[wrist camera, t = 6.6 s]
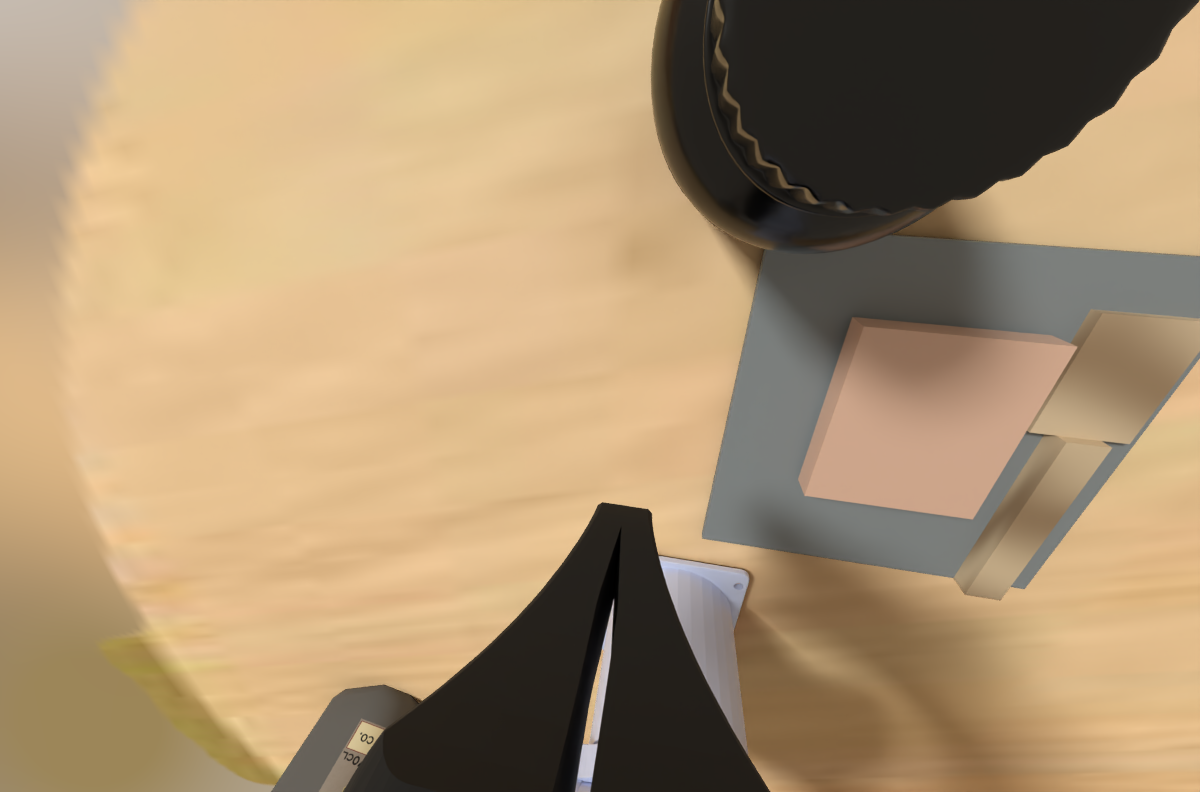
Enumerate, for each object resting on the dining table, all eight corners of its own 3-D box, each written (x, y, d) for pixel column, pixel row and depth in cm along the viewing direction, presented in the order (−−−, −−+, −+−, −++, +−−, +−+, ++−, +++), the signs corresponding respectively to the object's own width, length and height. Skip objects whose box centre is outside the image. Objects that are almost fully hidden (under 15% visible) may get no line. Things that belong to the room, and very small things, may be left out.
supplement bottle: (916, 10, 13) (1876, -650, 3) (817, 240, 16) (1063, 358, 6) (697, -37, 13) (762, -790, 3) (642, 198, 17) (581, 239, 6)
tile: (796, 475, 21) (953, 496, 20) (804, 495, 19) (972, 519, 19) (849, 314, 17) (1045, 332, 16) (863, 326, 16) (1077, 346, 15)
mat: (1019, 582, 22) (1024, 589, 22) (701, 533, 24) (702, 538, 24) (1258, 260, 14) (1272, 262, 14) (769, 226, 16) (771, 227, 16)
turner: (1009, 586, 22) (1023, 604, 21) (932, 574, 22) (942, 591, 21) (1205, 318, 15) (1237, 327, 14) (1091, 309, 16) (1115, 317, 15)
